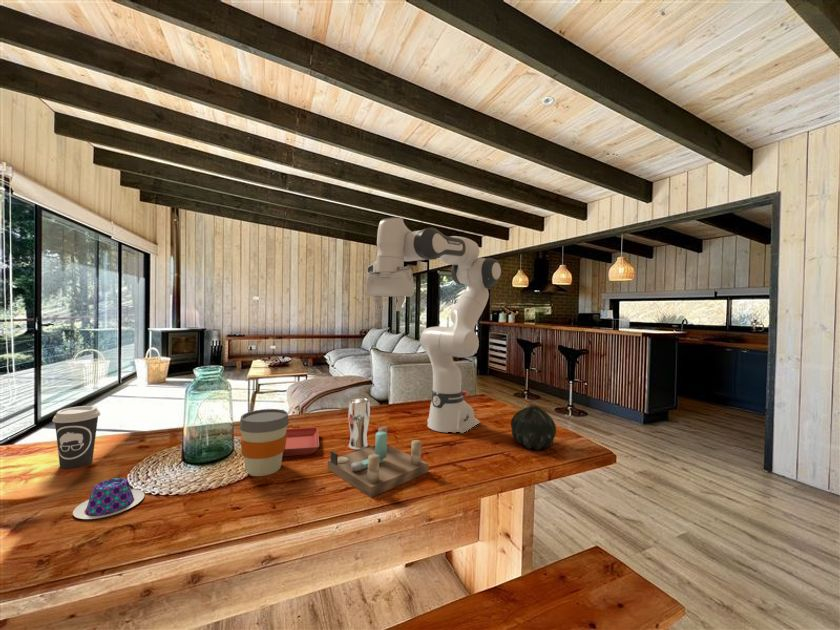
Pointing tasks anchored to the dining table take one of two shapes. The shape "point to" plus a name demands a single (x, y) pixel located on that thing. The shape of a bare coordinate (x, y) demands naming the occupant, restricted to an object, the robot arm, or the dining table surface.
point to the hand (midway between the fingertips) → (388, 310)
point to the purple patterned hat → (109, 499)
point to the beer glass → (358, 423)
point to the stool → (379, 467)
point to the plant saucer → (301, 441)
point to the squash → (533, 428)
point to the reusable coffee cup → (263, 440)
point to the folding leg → (379, 450)
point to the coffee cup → (76, 435)
